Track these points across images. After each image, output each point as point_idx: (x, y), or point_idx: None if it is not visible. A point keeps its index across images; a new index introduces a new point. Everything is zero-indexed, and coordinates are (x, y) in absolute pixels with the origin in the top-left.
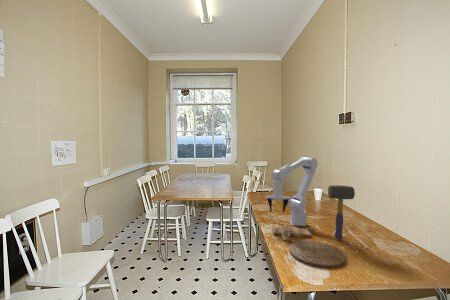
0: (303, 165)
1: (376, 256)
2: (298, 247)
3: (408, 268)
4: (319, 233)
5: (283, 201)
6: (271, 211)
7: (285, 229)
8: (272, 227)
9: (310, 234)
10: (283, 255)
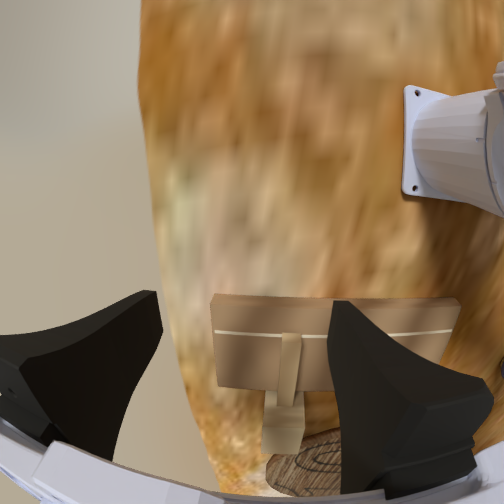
0: None
1: (492, 426)
2: (301, 468)
3: (492, 444)
4: (490, 314)
5: (367, 455)
6: (162, 331)
7: (273, 450)
8: (215, 314)
9: None
10: (241, 472)
